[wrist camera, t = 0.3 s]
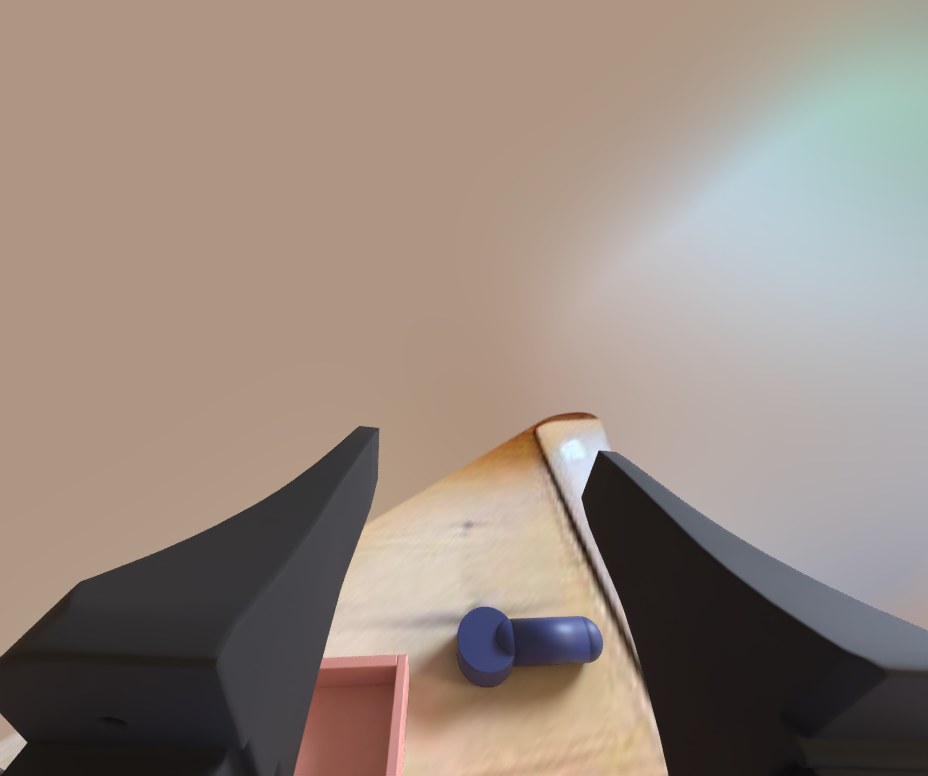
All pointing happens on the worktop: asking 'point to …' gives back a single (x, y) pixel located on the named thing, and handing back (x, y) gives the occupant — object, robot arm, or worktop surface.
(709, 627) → the robot arm
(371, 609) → the worktop surface
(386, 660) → the red bin
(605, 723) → the worktop surface
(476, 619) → the blue handle
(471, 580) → the worktop surface
